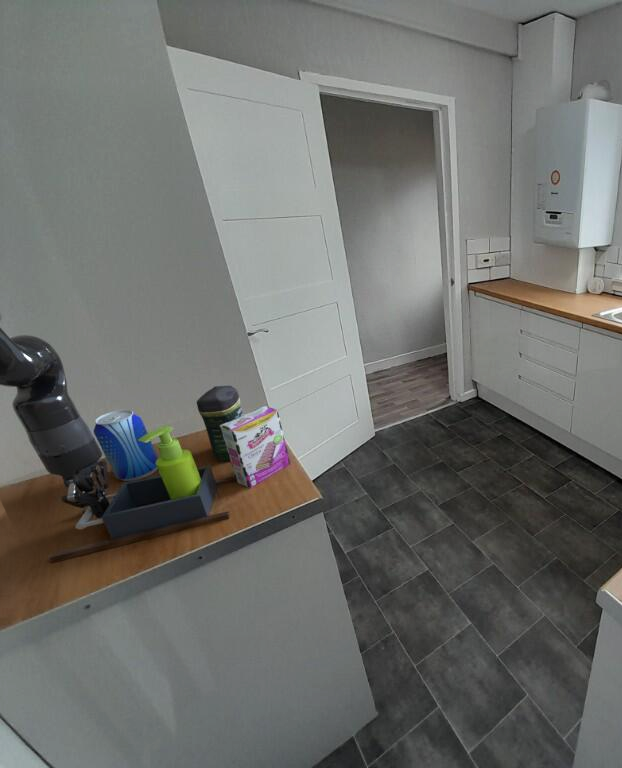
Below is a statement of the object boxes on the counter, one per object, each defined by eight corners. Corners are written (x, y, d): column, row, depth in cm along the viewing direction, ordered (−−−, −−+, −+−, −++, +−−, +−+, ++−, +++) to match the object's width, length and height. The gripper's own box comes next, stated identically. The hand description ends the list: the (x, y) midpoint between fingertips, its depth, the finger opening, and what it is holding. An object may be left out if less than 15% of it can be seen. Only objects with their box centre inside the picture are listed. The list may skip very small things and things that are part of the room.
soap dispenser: (165, 515, 87) (129, 436, 79) (197, 494, 93) (167, 419, 85) (184, 522, 86) (150, 442, 77) (215, 501, 92) (187, 424, 83)
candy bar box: (251, 490, 95) (231, 430, 88) (237, 484, 97) (217, 425, 90) (292, 465, 104) (278, 409, 98) (279, 459, 106) (264, 404, 99)
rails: (51, 562, 76) (48, 557, 75) (86, 512, 88) (83, 507, 87) (229, 519, 87) (227, 514, 86) (238, 479, 99) (236, 475, 98)
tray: (81, 548, 78) (68, 524, 76) (105, 510, 88) (94, 488, 85) (208, 518, 86) (200, 495, 84) (217, 486, 96) (210, 465, 93)
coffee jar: (245, 461, 106) (225, 398, 98) (211, 465, 104) (187, 401, 96) (258, 441, 114) (240, 381, 106) (226, 444, 113) (206, 384, 105)
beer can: (112, 475, 99) (84, 418, 93) (154, 458, 106) (131, 404, 99) (124, 488, 95) (95, 430, 88) (167, 470, 101) (143, 414, 95)
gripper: (55, 430, 80) (94, 500, 87) (17, 467, 69) (65, 543, 76) (105, 422, 83) (138, 490, 90) (75, 455, 72) (116, 530, 79)
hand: (105, 514), depth 83 cm, fingers closed
